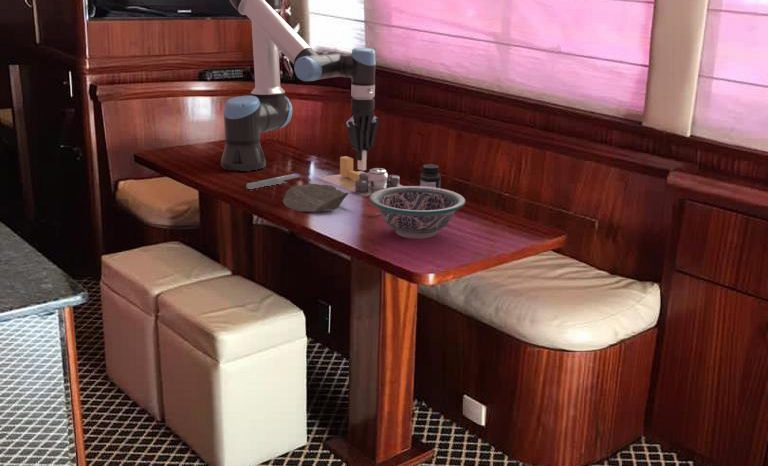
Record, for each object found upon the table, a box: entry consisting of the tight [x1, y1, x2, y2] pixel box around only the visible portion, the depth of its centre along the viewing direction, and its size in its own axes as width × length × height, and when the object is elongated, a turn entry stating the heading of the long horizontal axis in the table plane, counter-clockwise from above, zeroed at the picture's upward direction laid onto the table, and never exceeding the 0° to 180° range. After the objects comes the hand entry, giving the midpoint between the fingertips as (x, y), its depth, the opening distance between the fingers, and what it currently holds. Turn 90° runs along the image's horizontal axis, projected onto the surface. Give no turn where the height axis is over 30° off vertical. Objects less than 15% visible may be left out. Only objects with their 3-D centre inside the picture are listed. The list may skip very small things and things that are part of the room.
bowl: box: [369, 185, 466, 240], centre depth 222 cm, size 25×25×10 cm
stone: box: [282, 183, 349, 213], centre depth 245 cm, size 20×4×15 cm
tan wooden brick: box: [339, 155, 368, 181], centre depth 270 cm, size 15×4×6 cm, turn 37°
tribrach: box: [317, 167, 403, 197], centre depth 267 cm, size 26×17×7 cm, turn 37°
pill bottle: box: [419, 164, 442, 189], centre depth 251 cm, size 6×6×11 cm
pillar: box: [246, 172, 301, 190], centre depth 268 cm, size 2×2×20 cm
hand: (361, 169), depth 278 cm, fingers closed
